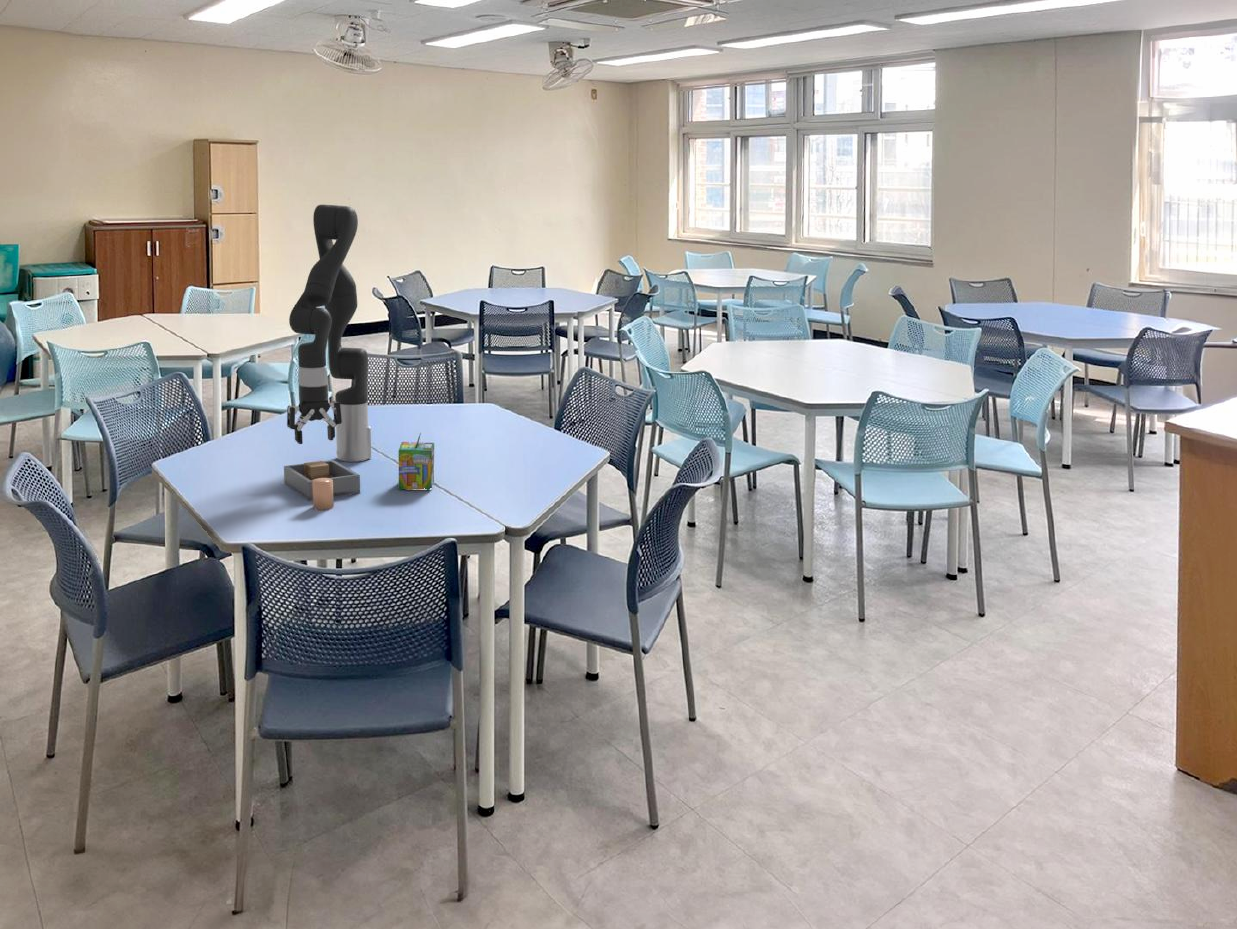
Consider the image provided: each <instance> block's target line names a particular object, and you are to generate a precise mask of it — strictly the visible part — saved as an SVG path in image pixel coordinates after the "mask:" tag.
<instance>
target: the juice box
mask: <svg viewBox="0 0 1237 929" xmlns="http://www.w3.org/2000/svg"><path fill="white" fill-rule="evenodd" d="M421 435H422V432H420V433H419V435H418V438H417V441H401V443H400V444H399V445H400V446H399V448H398V491H402V490H401V489H424V488H425V489H430V488H432V489H433V487H434V484H433V482H434V483H435V442H424V441H423V442H420V439H421V438H420V437H421ZM432 486H433V487H432Z"/></svg>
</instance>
